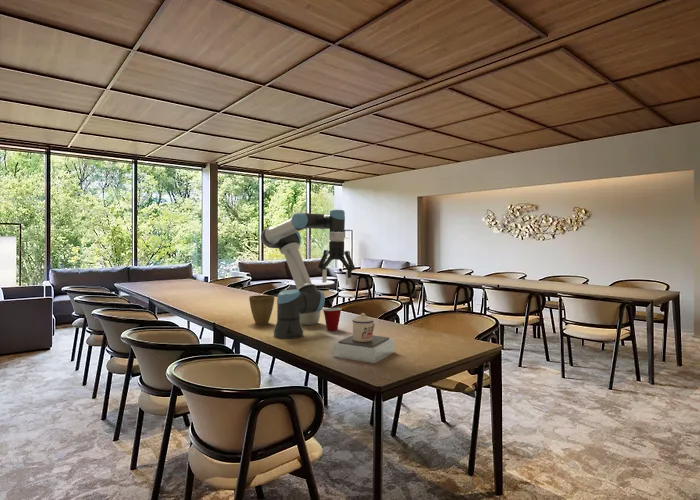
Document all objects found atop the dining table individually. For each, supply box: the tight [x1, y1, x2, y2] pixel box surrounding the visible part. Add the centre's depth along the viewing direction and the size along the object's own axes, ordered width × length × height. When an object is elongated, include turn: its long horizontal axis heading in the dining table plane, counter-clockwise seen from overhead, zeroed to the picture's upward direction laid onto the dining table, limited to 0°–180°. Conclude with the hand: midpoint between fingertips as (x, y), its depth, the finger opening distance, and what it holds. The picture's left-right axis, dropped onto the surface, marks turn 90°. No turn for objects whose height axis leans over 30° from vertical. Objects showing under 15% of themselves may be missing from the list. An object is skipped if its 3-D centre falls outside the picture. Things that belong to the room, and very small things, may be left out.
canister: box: [300, 311, 321, 326], centre depth 252 cm, size 18×18×21 cm
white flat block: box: [332, 334, 395, 364], centre depth 189 cm, size 20×25×7 cm
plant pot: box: [248, 294, 275, 325], centre depth 252 cm, size 15×15×16 cm
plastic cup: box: [321, 307, 343, 332], centre depth 236 cm, size 11×11×12 cm
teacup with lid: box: [351, 312, 375, 342], centre depth 186 cm, size 12×9×12 cm
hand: (335, 283), depth 212 cm, fingers open, 13 cm apart
